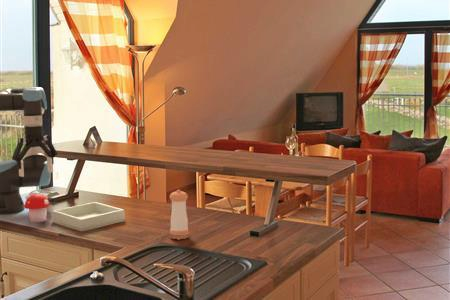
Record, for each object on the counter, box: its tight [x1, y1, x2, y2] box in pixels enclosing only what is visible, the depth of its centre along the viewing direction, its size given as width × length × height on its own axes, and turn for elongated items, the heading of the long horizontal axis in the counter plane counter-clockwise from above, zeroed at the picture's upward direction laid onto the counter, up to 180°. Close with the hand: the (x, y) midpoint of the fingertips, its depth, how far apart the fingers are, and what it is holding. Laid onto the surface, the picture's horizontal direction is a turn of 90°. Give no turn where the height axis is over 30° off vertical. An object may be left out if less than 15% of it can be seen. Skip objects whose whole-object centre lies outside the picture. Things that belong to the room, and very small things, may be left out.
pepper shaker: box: [169, 189, 190, 235], centre depth 226 cm, size 7×7×19 cm
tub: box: [51, 201, 126, 232], centre depth 252 cm, size 22×22×5 cm
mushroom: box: [24, 193, 51, 223], centre depth 253 cm, size 11×11×12 cm
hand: (36, 174), depth 251 cm, fingers open, 13 cm apart
